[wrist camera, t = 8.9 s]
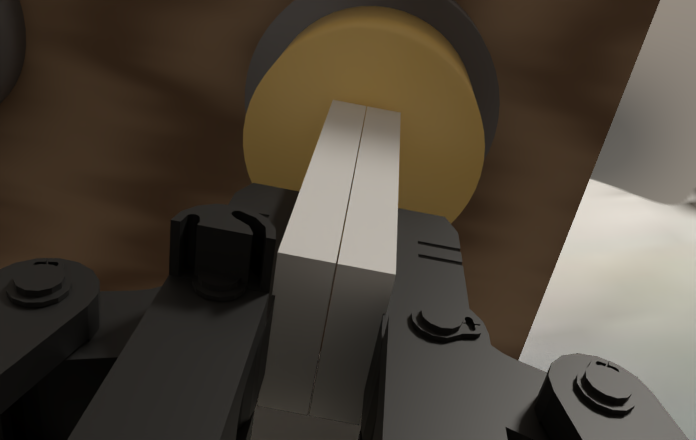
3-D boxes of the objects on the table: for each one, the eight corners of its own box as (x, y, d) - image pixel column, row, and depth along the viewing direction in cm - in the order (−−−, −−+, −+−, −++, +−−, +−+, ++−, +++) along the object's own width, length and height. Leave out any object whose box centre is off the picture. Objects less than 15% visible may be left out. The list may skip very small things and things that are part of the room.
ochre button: (445, 219, 18) (498, 28, 15) (450, 274, 16) (516, 56, 13) (260, 184, 18) (280, -14, 16) (234, 233, 16) (254, 6, 13)
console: (484, 271, 30) (647, -223, 20) (513, 417, 22) (810, -303, 12) (-77, 163, 30) (-176, -379, 20) (-265, 268, 22) (-581, -566, 12)
